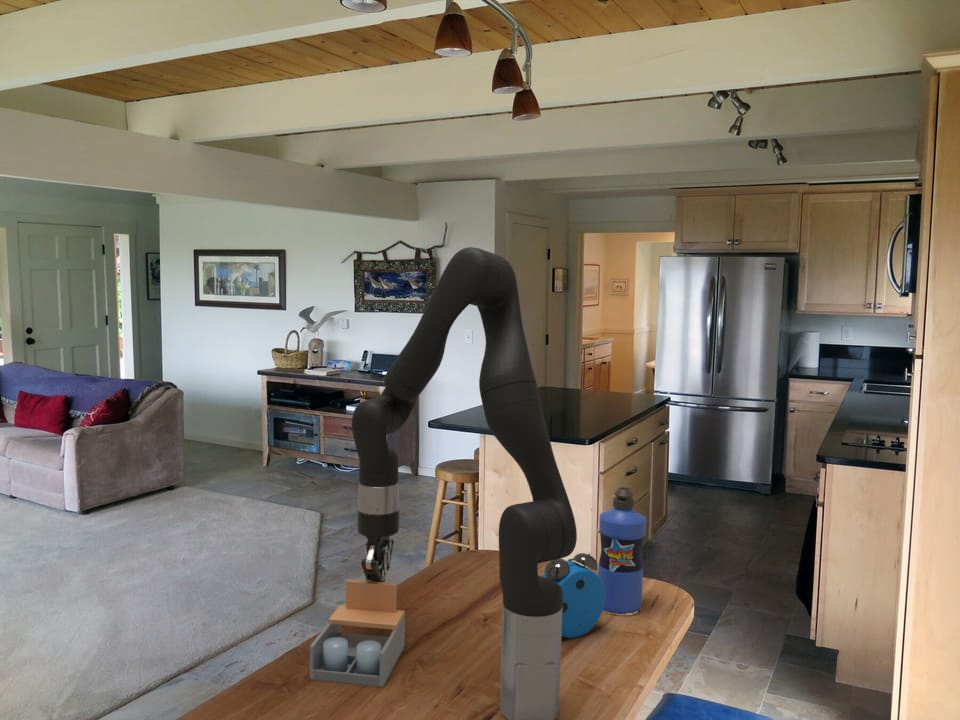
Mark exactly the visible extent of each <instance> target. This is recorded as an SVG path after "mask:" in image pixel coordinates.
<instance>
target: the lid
mask: <svg viewBox="0 0 960 720" xmlns="http://www.w3.org/2000/svg"><path fill="white" fill-rule="evenodd" d="M397 588H398V584H397V582H387V581H385V582H377V581H370V580H364V579H352V578H351V579H350V578H347V580H346V581H345V604H343V605H342V604H340V605H339V606H338V607H337V608H336V609H335V611H334V612H333V613H332V614H331V616H330V617H329V618H328V623H329V624H338V625H341V626H351V627H361V628H369V629H370V628H372V629H381V630H383V629H384V630H392V631H393V630H396V629H397V627H398V626H399V624H400V622H401V621H402V619H403V617H405V615H406V611H405V610H400V609H399V610H398V609H397V603H398V602H397V600H398V599H397V598H398V597H397V596H398V595H397V593H398V591H397V590H398V589H397Z"/></svg>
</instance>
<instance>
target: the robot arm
mask: <svg viewBox="0 0 960 720" xmlns="http://www.w3.org/2000/svg"><path fill="white" fill-rule="evenodd" d="M470 305H471V306H474V307H477V310H478V312H479V314H480V318H481V323H482V328H483V331H484V339H485V348H484V354H483V359H482V363H481V367H480V371H479V378H478V379H479V380H478V383H479V387H478V390H479V394H480V398H481V402H482V403H481V404H482V408H483V411H484V412H483V413H484V417H485V421H486V424H487V427H488V429H489V431H491V433H492V435H493V436H494V437H495V439H496V440H497V441H498V443H499V444H500V445H501V446H502V447H503V449H504V450H505V451H506V452H507V453H508V454H509V455H510V457H512V459H513V460H514V461H515V462H516V464H517V465H518V466H519V468H520V469H521V471H522V473H523V475H524V476H525V479H526V482H527V485H528V487H529V490H530V493H531V494H530V495H531V498H532V501H526V502H522V503H516V504H511V505H509V506H507V507H506V508H505V509H504V510H503V511H502V514H501V516H500V519H499V524H498V558H499V559H498V563H499V566H498V567H499V582H500V583H499V584H500V587H501V592H502V619H501V620H502V621H501V653H500V654H501V655H500V684H499V685H500V692H499V693H500V694H499V695H500V696H499V697H500V698H499V710H500V713H501V714H502V716H503V717H505V719H507V720H555V719H557V717H558V716H559V712H560V691H561V690H560V689H561V687H560V686H561V658H562V657H561V656H562V637H563V636H562V611H563V591H562V588H561V587H560V585H559V584H557V583H556V582H554V581H553V580H550V579H548V578H545V577H541V576H542V575H539V572H538V570H539V567H538V565H539V564H541V563H546V562H547V563H548V562H549V561H551V560H556V559H560V558H561V559H563V558H567V557H568V556H570V555H571V554H572V553H573V552H574V550H575V548H576V545H577V540H578V539H577V538H578V533H577V532H578V531H577V525H576V520H575V519H576V518H575V515H574V512H573V511H574V510H573V509H572V506H571V503H570V500H569V496H568V494H567V490H566V488H565V486H564V482H563V479H562V476H561V473H560V471H559V467H558V465H557V464H558V463H557V461H556V457H555V454H554V451H553V447H552V443H551V440H550V436H549V432H548V427H547V423H546V420H545V416H544V410H543V405H542V400H541V396H540V392H539V389H538V388H539V387H538V384H537V380H536V376H535V373H534V369H533V365H532V361H531V356H530V351H529V347H528V342H527V339H526V335H525V331H524V326H523V319H522V312H521V303H520V296H519V288H518V282H517V277H516V273H515V271H514V268H513V266H512V265H511V263H510V262H509V261H508V260H507V259H506V258H504V257H503V256H502V255H498V254H495V253H493V252H491V251H488V250H484V249H482V248H478V247H472V246H469V247H464V248H461V249H459V250H458V251H457V252H456V253H455V254H454V255H453V256H452V257H451V259H450V260H449V261H448V263H447V265H446V267H445V268H444V270H443V272H442V273H441V276H440V279H439V281H438V282H437V285H436V287H435V288H434V291H433V293H432V295H431V297H430V298H429V301H428V303H427V305H426V307H425V309H424V311H423V313H422V315H421V317H420V319H419V321H418V323H417V326H416V327H415V330H414V331H413V333H412V335H410V338H409V340H408V341H407V342H406V344H405V346H404V347H403V348H402V350H401V351H400V353H399V354H398V355H397V357H396V359H394V361H393V362H392V363H391V365H390V367H389V368H388V370H387V372H386V374H385V376H384V378H383V383H384V384H383V385H384V386H385V387H384V389H383V391H381V393H380V394H379V395H378V396H377V397H374V398H370V399H366V400H363V401H362V402H361V401H360V403H358V404H357V405H356V407H355V408H354V411H353V414H352V417H351V431H352V436H353V440H354V441H353V442H354V445H355V449H356V453H357V456H358V460H359V463H358V464H359V465H358V468H359V470H358V471H359V472H358V473H359V476H358V482H359V483H358V491H357V527H356V528H357V533H358V534H360V535H362V536H364V537H365V538H367V540H366V543H365V544H364V554H365V557H366V558H365V559H364V558H362V559H361V563H360V564H361V569H362V571H363V573H364V577H365V579H366V580H365V581H377V582H386V577H387V575H388V573H387V571H390V565H391V559H392V553H393V549H394V544H395V541H394V539H393V538H392V539H390V537H392V536H394V535H396V534H398V532H399V530H400V488H399V456H398V454H397V452H396V451H395V450H393V449H391V448H389V444H388V436H389V435H392V434H394V433H396V432H397V431H399V430H400V429H401V428H402V427H403V426H404V425H405V424H406V423H407V420H408V419H409V417H410V416H411V414H412V411H413V409H414V407H415V405H416V403H417V400H418V398H419V395H420V394H422V392H423V391H424V390H425V388H426V387H427V386H428V384H429V383H430V381H431V380H432V379H433V378H434V376H435V374H436V373H437V371H438V370H439V368H440V365H441V363H442V361H443V359H444V354H445V351H446V350H445V349H446V344H447V339H448V336H449V333H450V330H451V328H452V327H453V324H454V322H456V320H457V318H458V317H459V316H460V315H461V313H462V312H463V311H465V309H466V308H467V307H468V306H470Z"/></svg>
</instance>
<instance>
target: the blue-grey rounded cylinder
mask: <svg viewBox="0 0 960 720" xmlns="http://www.w3.org/2000/svg"><path fill="white" fill-rule="evenodd" d="M380 652H381V644H380V643H379V642H377V641H371V640H369V641H363V642H360V643H359V644H358V645H357V668H356V674H366V675H375V676H379V671H380Z"/></svg>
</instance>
